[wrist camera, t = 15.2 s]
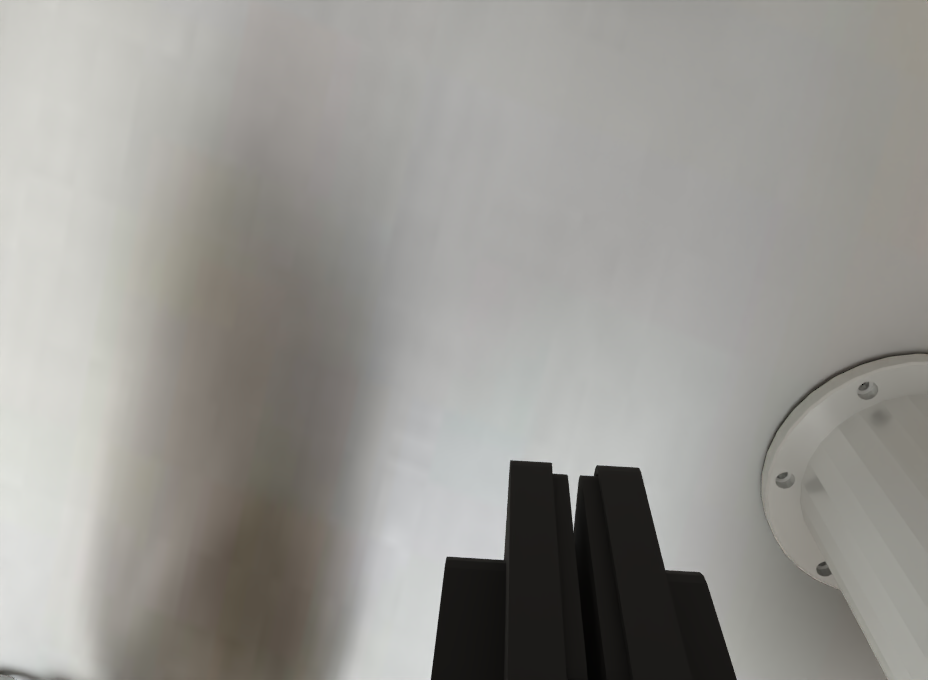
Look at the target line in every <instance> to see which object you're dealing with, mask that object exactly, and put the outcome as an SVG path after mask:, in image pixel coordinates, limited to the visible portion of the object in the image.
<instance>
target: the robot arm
mask: <svg viewBox="0 0 928 680" xmlns="http://www.w3.org/2000/svg"><path fill="white" fill-rule="evenodd" d="M864 382H865V384H864V385H862V386H860V385H861V384H863V383H864ZM781 473H782V474H781ZM761 498H762V502H763V507H764V512H765V516H766V519H767V521H768V523H769V525H770V528H771V530H772V533H773V535H774V537H775V539H776V540H777V542H778V543H779V545H780V547H781V548H782V550H783V551H784V553H785V554H786V555H787V556H788V557H789V558H790V559H791V560H792V561H793V562H794V563H795V564H796V565H797V566H798V567H799V568H800V569H801V570H802V571H804V572H805V573H806V574H808V575H809V576H811V577H812V578H814V579H815V580H817V581H819V582H821V583H824V584H826V585H829V586H831V587H833V588H836V589H838V590H841V592H842V594H843V595H844V597H845V599H846V601H847V603H848V605H849V607H850V609H851V611H852V613H853V614H854V616H855V618H856V620H857V622H858V624H859V626H860V628H861V630H862V632H863V634H864V635H865V637H866V639H867V641H868V643H869V645H870V647H871V649H872V651H873V653H874V655H875V656H876V658H877V660H878V662H879V664H880V666H881V668H882V670H883V672H884V674H885V675H886V677H887V679H888V680H928V354H910V355H901V356H893V357H887V358H883V359H880V360H876V361H873V362H869V363H866V364H862V365H860V366H857V367H855V368H853V369H851V370H849V371H847V372H844V373H842V374H840V375H838V376H836V377H834V378H833V379H831V380H830V381H828V382H827V383H825V384H824V385H822V386H821V387H819V388H818V389H816V390H815V391H813V392H812V393H811V394H810V395H809V396H808V397H807V398H806V399H805V400H803V401H802V402H801V403H800V404H799V405H798V406H797V407H796V408H795V409H794V410H793V411H792V412H791V414H790V415H789V416H788V418H787V419H786V420H785V422H784V423H783V424H782V426H781V427H780V428H779V430H778V431H777V433H776V435H775V437H774V440H773V442H772V444H771V446H770V448H769V450H768V452H767V455H766V459H765V464H764V468H763V472H762V485H761ZM431 680H737V679H736V676H735V672H734V669H733V666H732V663H731V659H730V656H729V653H728V650H727V647H726V643H725V640H724V637H723V634H722V630H721V627H720V624H719V621H718V618H717V614H716V611H715V608H714V605H713V601H712V598H711V595H710V592H709V589H708V585H707V583H706V580H705V578H704V576H703V575H702V574H701V573H700V572H685V571H669V570H665V568H664V564H663V560H662V556H661V552H660V548H659V544H658V540H657V535H656V531H655V527H654V523H653V519H652V515H651V511H650V507H649V503H648V499H647V495H646V491H645V487H644V483H643V479H642V475H641V471H640V469H639V468H633V467H616V466H599V465H597V466H596V469H595V473H594V476H581V475H580V477H579V483H578V492H577V503H576V513H575V523H574V533H573V523H572V513H571V503H570V493H569V483H568V475H564V474H553V473H552V463H547V462H529V461H512V460H510V471H509V487H508V504H507V520H506V537H505V553H504V560H492V559H476V558H460V557H447V558H446V563H445V570H444V578H443V586H442V594H441V603H440V611H439V619H438V627H437V635H436V643H435V651H434V659H433V667H432V675H431Z"/></svg>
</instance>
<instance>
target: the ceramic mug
mask: <svg viewBox="0 0 928 680" xmlns="http://www.w3.org/2000/svg"><path fill="white" fill-rule="evenodd" d="M0 680H15V679H14V678H13V677H10V676H7V675H0Z"/></svg>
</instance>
